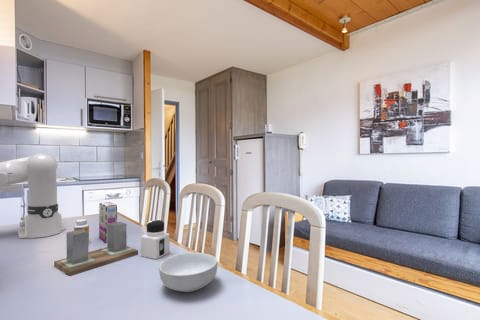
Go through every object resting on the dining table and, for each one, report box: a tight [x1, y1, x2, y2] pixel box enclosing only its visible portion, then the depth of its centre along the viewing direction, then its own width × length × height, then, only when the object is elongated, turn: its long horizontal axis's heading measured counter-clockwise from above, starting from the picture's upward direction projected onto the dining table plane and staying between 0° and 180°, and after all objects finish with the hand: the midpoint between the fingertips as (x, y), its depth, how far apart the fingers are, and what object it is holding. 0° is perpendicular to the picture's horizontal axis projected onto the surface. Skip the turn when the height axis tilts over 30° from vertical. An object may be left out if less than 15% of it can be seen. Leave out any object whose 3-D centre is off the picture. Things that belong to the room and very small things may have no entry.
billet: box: [106, 221, 128, 253], centre depth 104 cm, size 5×5×10 cm
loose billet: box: [66, 229, 89, 265], centre depth 93 cm, size 5×5×10 cm
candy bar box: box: [98, 201, 118, 244], centre depth 122 cm, size 11×5×16 cm, turn 42°
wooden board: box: [53, 245, 139, 277], centre depth 99 cm, size 13×24×2 cm, turn 143°
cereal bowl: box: [158, 252, 218, 293], centre depth 79 cm, size 17×17×7 cm
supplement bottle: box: [73, 218, 90, 243], centre depth 116 cm, size 6×6×10 cm
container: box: [140, 219, 171, 260], centre depth 104 cm, size 8×8×13 cm
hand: (16, 176), depth 89 cm, fingers open, 8 cm apart
